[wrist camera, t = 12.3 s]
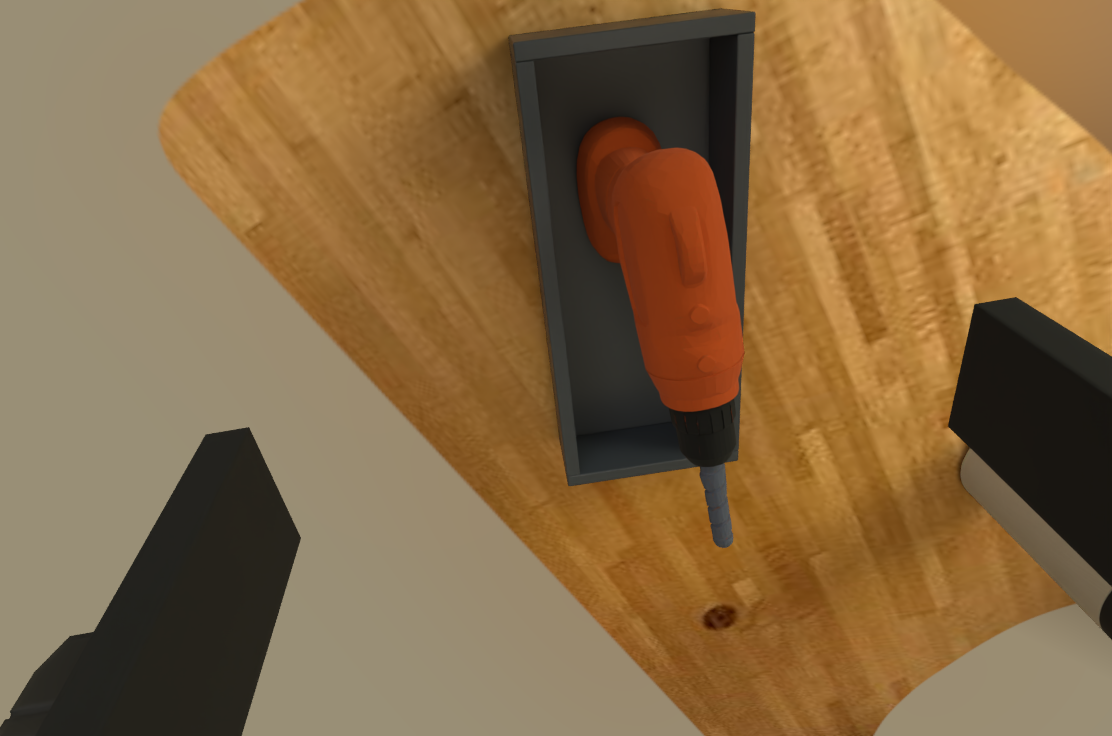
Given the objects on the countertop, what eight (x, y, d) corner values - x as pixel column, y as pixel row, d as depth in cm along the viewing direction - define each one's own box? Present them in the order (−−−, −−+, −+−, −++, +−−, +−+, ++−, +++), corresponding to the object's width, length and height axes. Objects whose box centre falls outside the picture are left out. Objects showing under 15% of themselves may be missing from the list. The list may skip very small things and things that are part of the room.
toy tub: (507, 35, 33) (512, 42, 29) (722, 8, 33) (756, 11, 29) (560, 442, 45) (568, 487, 41) (715, 419, 45) (738, 461, 41)
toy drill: (628, 434, 43) (689, 601, 29) (562, 128, 35) (601, 155, 21) (703, 416, 43) (800, 574, 29) (652, 105, 35) (751, 117, 21)
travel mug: (944, 499, 51) (1148, 723, 36) (975, 413, 47) (1220, 622, 32) (1041, 492, 52) (1282, 708, 37) (1080, 405, 48) (1369, 607, 33)
